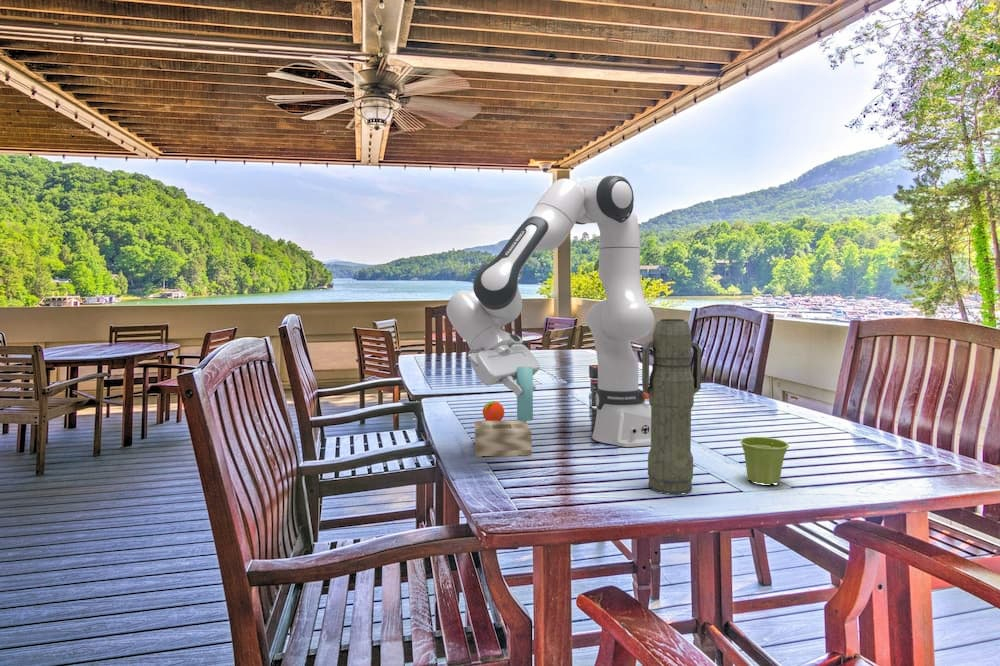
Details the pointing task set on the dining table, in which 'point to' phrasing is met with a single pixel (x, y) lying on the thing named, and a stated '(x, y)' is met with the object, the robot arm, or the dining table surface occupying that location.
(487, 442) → the maple block
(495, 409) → the clementine
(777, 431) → the dining table surface
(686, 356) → the thermos
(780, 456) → the plant pot
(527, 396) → the teal pin
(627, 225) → the robot arm
